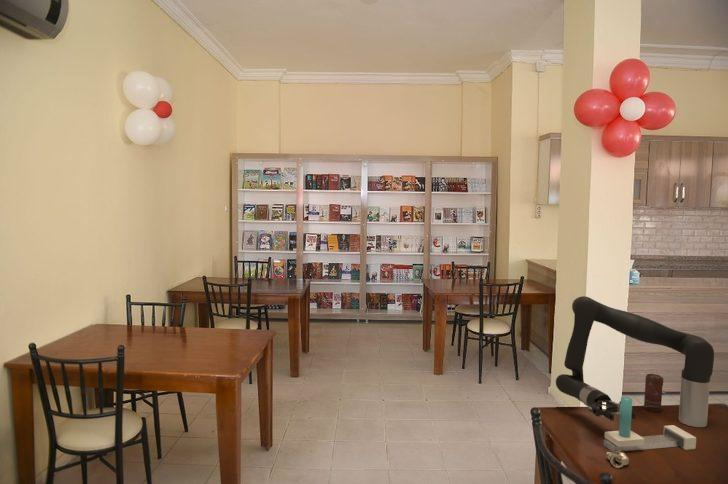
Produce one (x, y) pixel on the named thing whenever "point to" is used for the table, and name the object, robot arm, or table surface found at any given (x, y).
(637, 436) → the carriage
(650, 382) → the can
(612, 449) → the rail
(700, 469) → the table surface
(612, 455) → the silver metal fitting
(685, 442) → the end stop
